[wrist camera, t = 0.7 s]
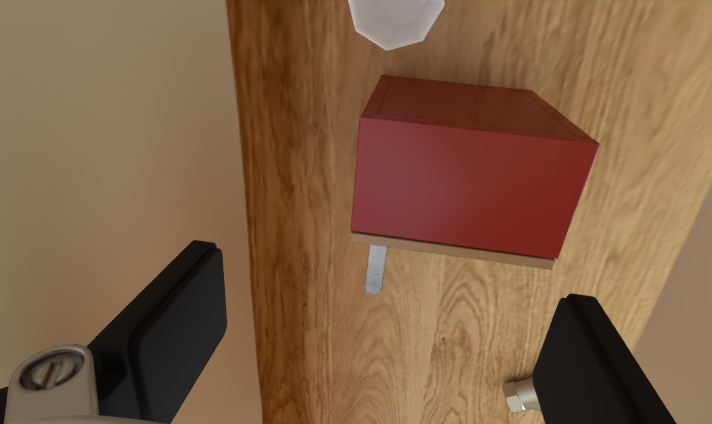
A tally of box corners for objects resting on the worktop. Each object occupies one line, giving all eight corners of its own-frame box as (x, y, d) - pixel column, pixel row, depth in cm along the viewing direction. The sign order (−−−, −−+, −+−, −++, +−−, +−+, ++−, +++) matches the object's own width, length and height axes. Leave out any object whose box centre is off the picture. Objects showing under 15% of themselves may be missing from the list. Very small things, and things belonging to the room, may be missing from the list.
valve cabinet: (510, 171, 41) (557, 258, 27) (373, 154, 43) (350, 230, 29) (532, 90, 38) (600, 143, 24) (381, 74, 39) (360, 116, 25)
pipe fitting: (579, 391, 54) (561, 360, 51) (590, 419, 51) (572, 387, 48) (519, 406, 57) (500, 378, 54) (526, 434, 53) (506, 405, 51)
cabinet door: (494, 233, 45) (527, 337, 31) (366, 216, 46) (344, 309, 32) (510, 174, 41) (556, 260, 28) (372, 157, 43) (350, 232, 29)
